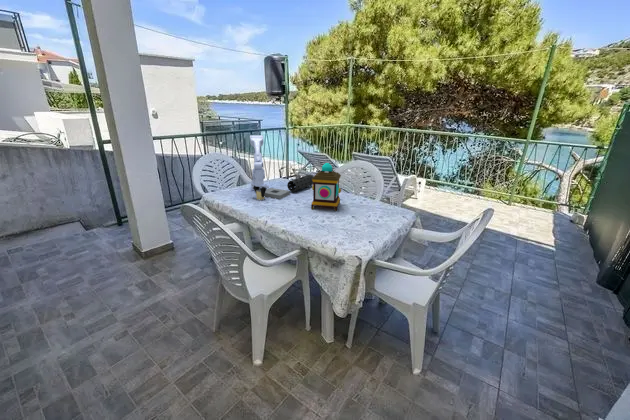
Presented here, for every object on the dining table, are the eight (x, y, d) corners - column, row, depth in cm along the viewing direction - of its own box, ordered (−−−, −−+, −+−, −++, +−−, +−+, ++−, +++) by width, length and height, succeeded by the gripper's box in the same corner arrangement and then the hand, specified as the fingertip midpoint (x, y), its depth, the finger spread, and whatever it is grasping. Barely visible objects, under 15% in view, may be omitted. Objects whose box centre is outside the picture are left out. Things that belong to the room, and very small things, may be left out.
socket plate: (260, 195, 211) (260, 192, 210) (271, 191, 222) (270, 187, 221) (279, 199, 203) (279, 195, 202) (290, 194, 215) (290, 190, 214)
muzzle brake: (286, 192, 221) (286, 179, 217) (306, 184, 243) (306, 173, 239) (296, 194, 216) (296, 181, 213) (315, 186, 238) (316, 174, 235)
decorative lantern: (338, 212, 179) (340, 166, 169) (308, 210, 183) (309, 164, 173) (341, 202, 198) (344, 160, 187) (314, 200, 201) (315, 159, 191)
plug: (256, 199, 203) (256, 190, 200) (260, 197, 206) (259, 188, 204) (261, 200, 201) (260, 190, 199) (264, 198, 204) (264, 189, 202)
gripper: (247, 178, 198) (249, 196, 203) (264, 180, 192) (265, 199, 196) (254, 176, 204) (255, 194, 209) (270, 178, 198) (271, 196, 202)
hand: (260, 196), depth 203 cm, fingers closed on plug, 4 cm apart
